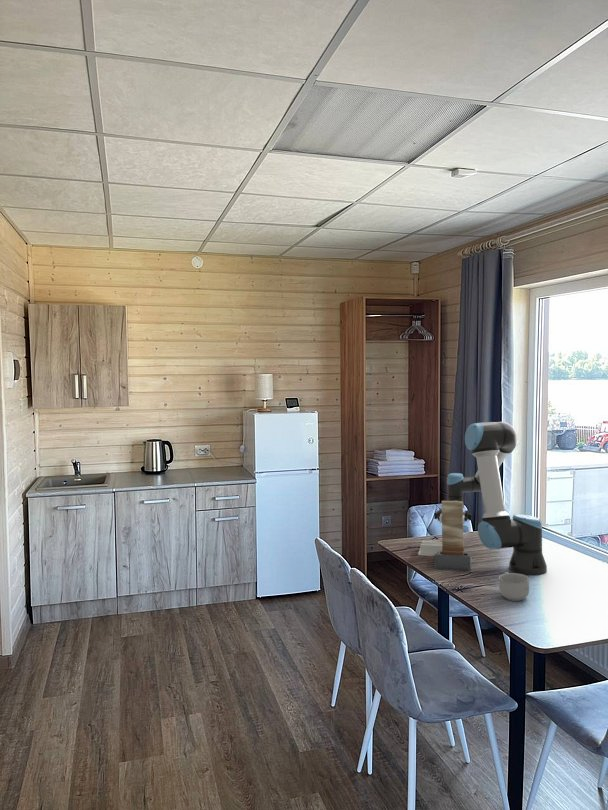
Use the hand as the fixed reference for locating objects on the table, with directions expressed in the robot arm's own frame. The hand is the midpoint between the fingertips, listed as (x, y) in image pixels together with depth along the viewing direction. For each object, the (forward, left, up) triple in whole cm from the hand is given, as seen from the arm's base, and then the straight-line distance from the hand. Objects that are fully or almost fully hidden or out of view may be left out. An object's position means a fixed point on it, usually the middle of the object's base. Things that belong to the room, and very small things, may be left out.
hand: (451, 520), depth 264 cm
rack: (0, 0, -21) cm, 21 cm away
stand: (+14, -12, -21) cm, 28 cm away
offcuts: (-1, +2, -19) cm, 20 cm away
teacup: (-33, +20, -21) cm, 44 cm away
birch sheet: (+1, -4, -15) cm, 15 cm away
